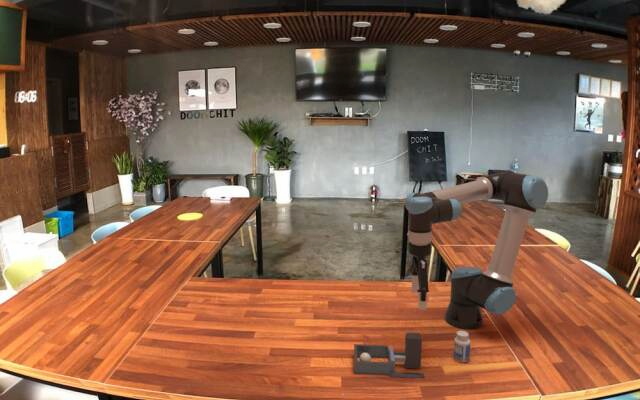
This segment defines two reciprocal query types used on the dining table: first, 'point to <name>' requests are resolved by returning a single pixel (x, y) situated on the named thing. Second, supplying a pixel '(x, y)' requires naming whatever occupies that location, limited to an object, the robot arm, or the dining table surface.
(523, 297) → the dining table surface
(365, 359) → the ball
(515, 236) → the robot arm
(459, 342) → the pill bottle
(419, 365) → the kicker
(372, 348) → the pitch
